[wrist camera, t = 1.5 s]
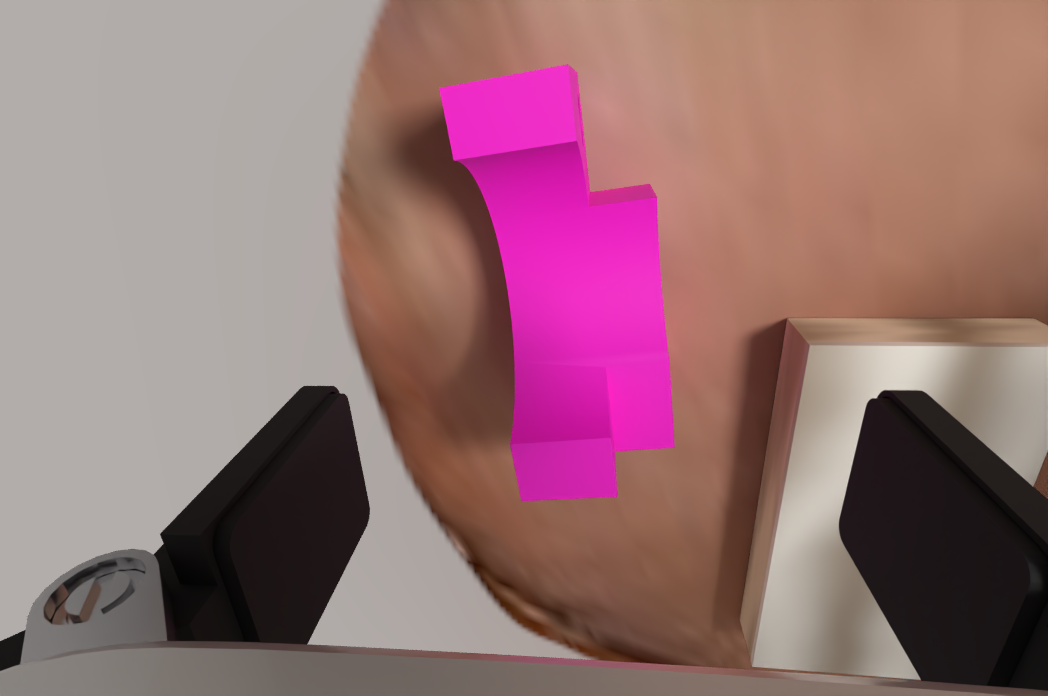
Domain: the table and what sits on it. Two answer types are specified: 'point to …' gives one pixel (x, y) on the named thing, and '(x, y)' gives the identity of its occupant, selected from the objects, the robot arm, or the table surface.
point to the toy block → (567, 284)
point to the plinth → (827, 455)
